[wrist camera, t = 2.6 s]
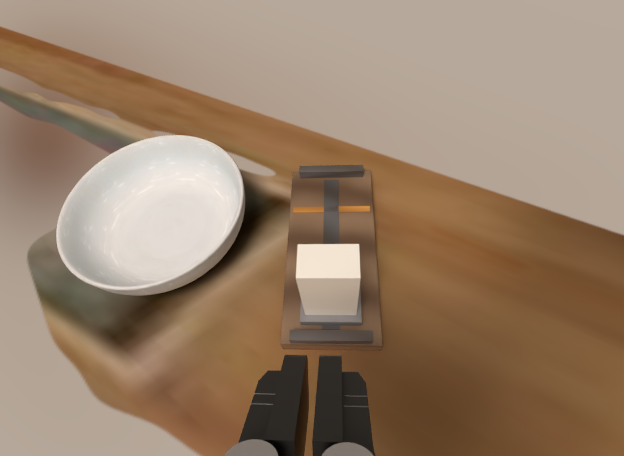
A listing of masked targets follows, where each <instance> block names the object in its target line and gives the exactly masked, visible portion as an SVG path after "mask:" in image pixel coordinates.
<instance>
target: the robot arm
mask: <svg viewBox="0 0 624 456" xmlns="http://www.w3.org/2000/svg"><path fill="white" fill-rule="evenodd" d="M308 411H309V388H308V360H307V355H285V356H284V360H283V364H282V368H281V371H267V373H266V374H265V375H264V376H263V377H262V378H261V379H260V380H259V381H258V384H257V387H256V391H255V395H254V397H253V400H252V404H251V406H250V409H249V412H248V415H247V418H246V421H245V424H244V427H243V430H242V434H241V437H240V440H239V443H238V444H236V445H234V446H233V447H232V448H230V449H229V450H228V451H227V453H226V454H225V455H224V456H304V451H305V441H306V432H307V423H308ZM313 456H375V453H374V449H373V442H372V433H371V424H370V416H369V408H368V398H367V389H366V383H365V381H364V380H363V378H362V377H361V376H360V374H359V373H358V372H342V358H341V356H327V355H320V357H319V369H318V381H317V393H316V405H315V418H314V430H313Z"/></svg>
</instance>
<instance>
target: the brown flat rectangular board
mask: <svg viewBox="0 0 624 456" xmlns="http://www.w3.org/2000/svg"><path fill="white" fill-rule="evenodd" d="M298 244H359V253H360V277H361V279H360V292H361V316H362V324H361V326H345V325H301V324H300V309H301V297H300V293H299V289H298V285H297V281H296V264H297V246H298ZM281 346H282V348H283V349H319V350H381V348H382V331H381V317H380V302H379V288H378V273H377V259H376V244H375V229H374V215H373V200H372V186H371V171H370V170H363V165H335V166H300V169H299V172H293V178H292V192H291V206H290V220H289V234H288V247H287V261H286V275H285V289H284V303H283V316H282V330H281Z"/></svg>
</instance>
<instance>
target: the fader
mask: <svg viewBox="0 0 624 456" xmlns="http://www.w3.org/2000/svg"><path fill="white" fill-rule="evenodd" d="M360 279H361V277H360V253H359V244H298V246H297V264H296V281H297V285H298V289H299V293H300V297H301V309H300V324H301V325H345V326H361V324H362V316H361V292H360Z"/></svg>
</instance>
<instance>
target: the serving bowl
mask: <svg viewBox="0 0 624 456" xmlns="http://www.w3.org/2000/svg"><path fill="white" fill-rule="evenodd" d="M244 211H245V191H244V184H243V179H242V175H241V173H240V170H239V168H238V166H237V164H236V163H235V161H234V160H233V159H232V158H231V156H230V155H229V154H228V153H227V152H226V151H225V150H223V149H222V148H220V147H219V146H217V145H215V144H214V143H212V142H209V141H207V140H204V139H201V138H197V137H192V136H183V135H168V136H159V137H153V138H149V139H145V140H141V141H138V142H135V143H133V144H130V145H128V146H126V147H124V148H121V149H119V150H118V151H116V152H114V153H112V154H111V155H109V156H107V157H106V158H104V159H103V160H101V161H100V162H99V163H97V164H96V165H95V166H94V167H93V168H91V169H90V170H89V171H88V172H87V173H86V174H85V175H84V176H83V177H82V178H81V180H80V181H79V182H78V183H77V184H76V186H75V187H74V188H73V190H72V191H71V193H70V194H69V196H68V197H67V199H66V201H65V203H64V205H63V207H62V210H61V213H60V216H59V219H58V223H57V231H56V239H57V246H58V251H59V254H60V256H61V258H62V260H63V262H64V264H65V265H66V267H67V268H68V269H69V270H70V271H71V272H72V273H73V274H74V275H75V276H77V277H78V278H79V279H81V280H82V281H84V282H86V283H88V284H90V285H92V286H95V287H97V288H100V289H103V290H106V291H109V292H113V293H118V294H124V295H152V294H158V293H163V292H167V291H171V290H174V289H177V288H179V287H182V286H184V285H186V284H188V283H190V282H192V281H194V280H196V279H197V278H199V277H201V276H202V275H203V274H205V273H206V272H207V271H209V270H210V269H211V268H213V267H214V266H215V265H216V264H217V263H218V262H219V261H220V260H221V259H222V258H223V256H224V255H225V254H226V253H227V251H228V250H229V249H230V247H231V246H232V244H233V242H234V241H235V239H236V237H237V235H238V233H239V230H240V228H241V225H242V221H243V217H244Z"/></svg>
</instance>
